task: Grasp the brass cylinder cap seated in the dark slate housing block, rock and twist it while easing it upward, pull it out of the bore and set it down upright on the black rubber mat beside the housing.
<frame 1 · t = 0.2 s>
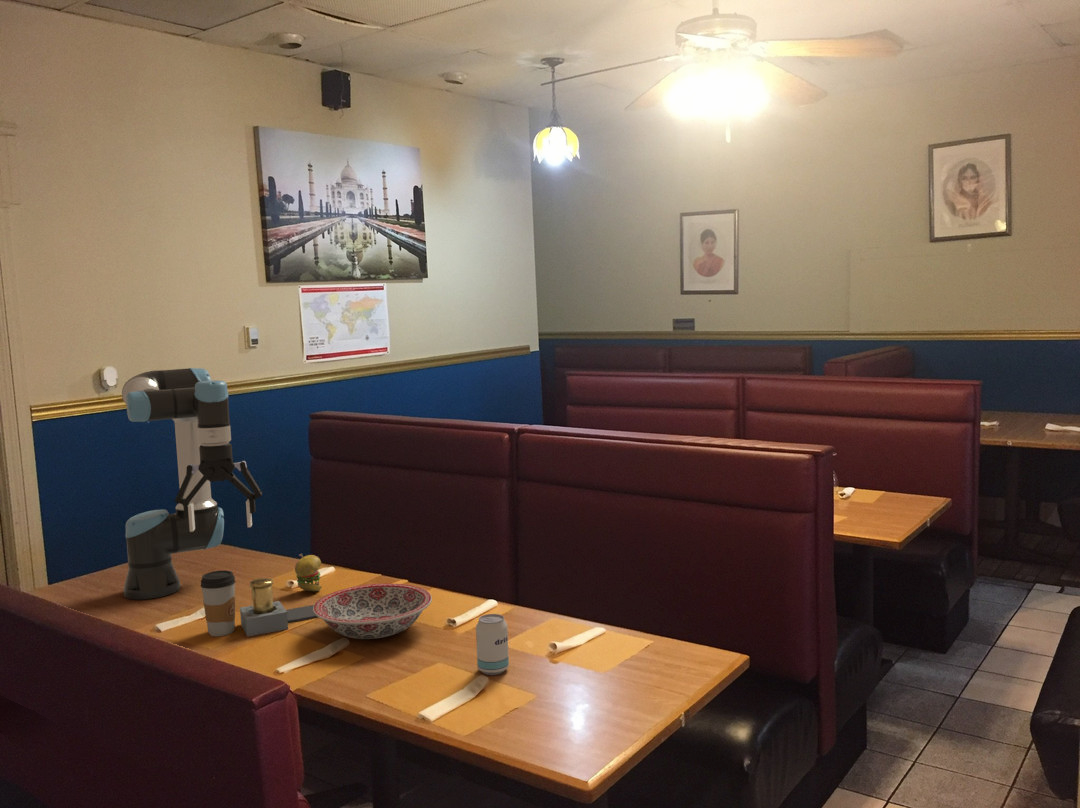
hand: (221, 528, 220), 27 cm above the table, fingers open, 13 cm apart
rubber mat: (302, 614, 237), on the table
coffee cup: (221, 632, 225), on the table
beverage can: (493, 671, 196), on the table
brass cap: (262, 604, 228), in the housing
ceramic bowl: (374, 633, 222), on the table
housing: (264, 626, 228), on the table
hamburger: (309, 593, 255), on the table
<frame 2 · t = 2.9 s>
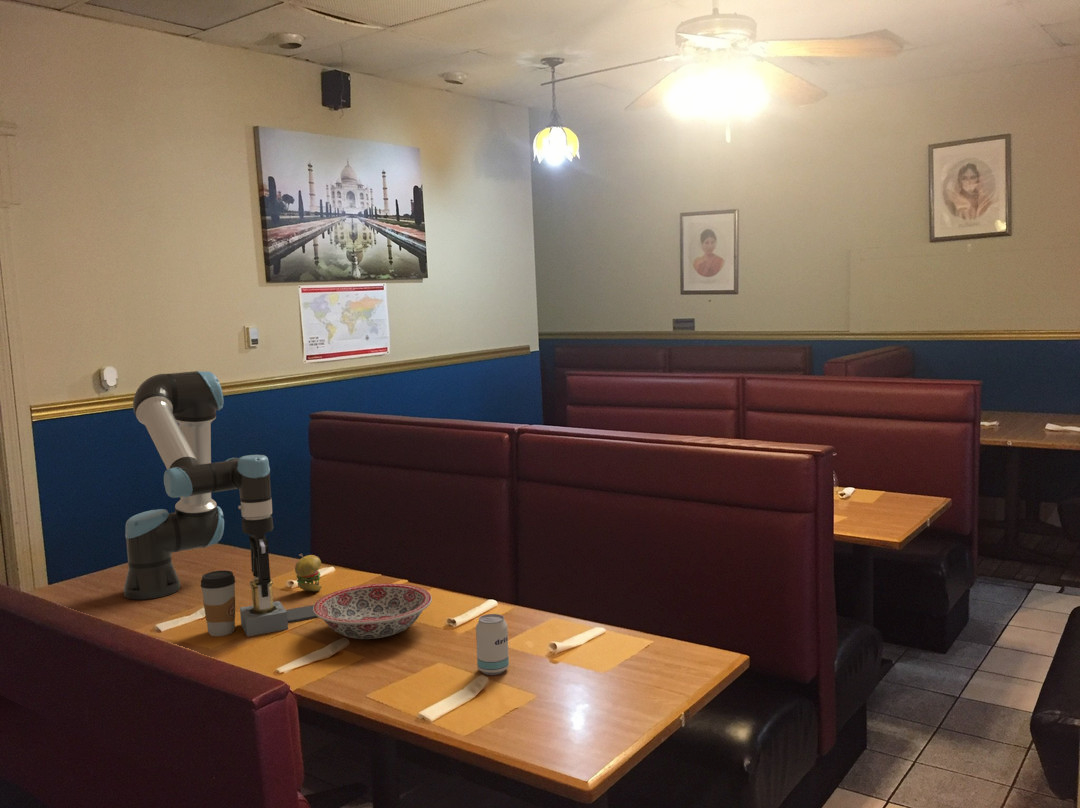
hand: (262, 604, 228), 6 cm above the table, fingers closed on brass cap, 6 cm apart
brass cap: (262, 604, 228), in the housing, touching gripper
everything else where it was.
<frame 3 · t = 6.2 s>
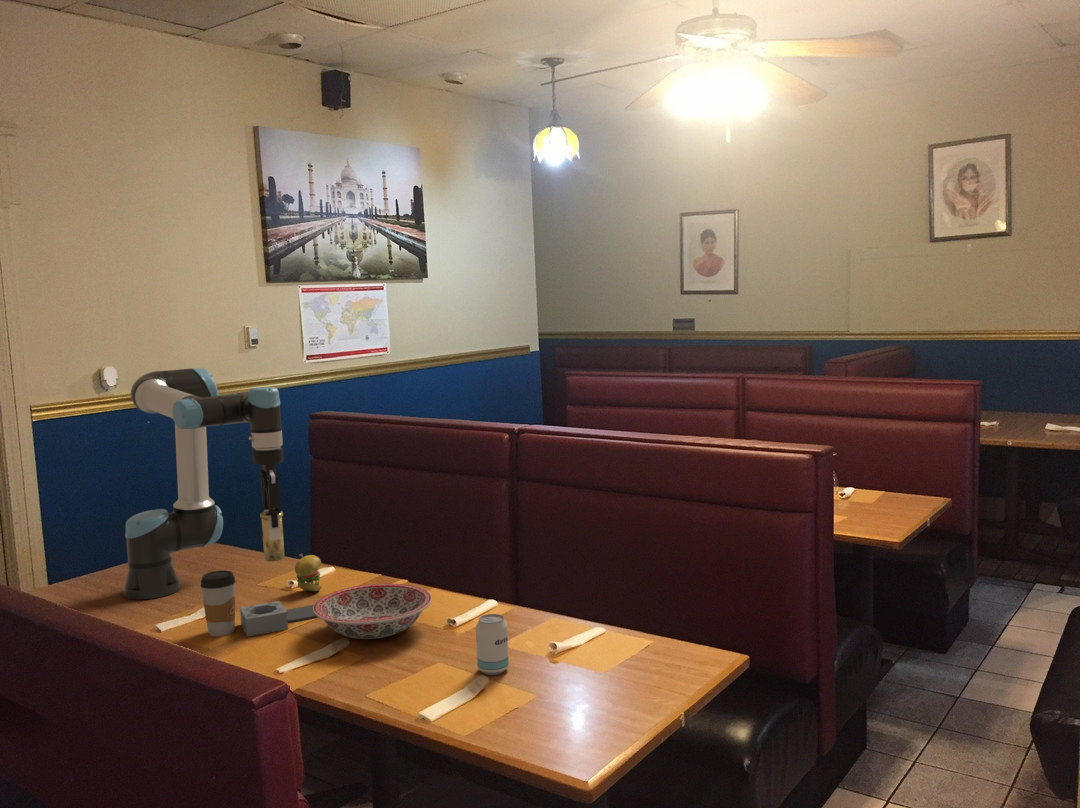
hand: (273, 536, 229), 23 cm above the table, fingers closed on brass cap, 6 cm apart
brass cap: (272, 536, 229), point 23 cm above the table, touching gripper
everything else where it was.
when the fingers open (8 cm above the table, at t = 9.7 s): brass cap drops 1 cm, resting on rubber mat.
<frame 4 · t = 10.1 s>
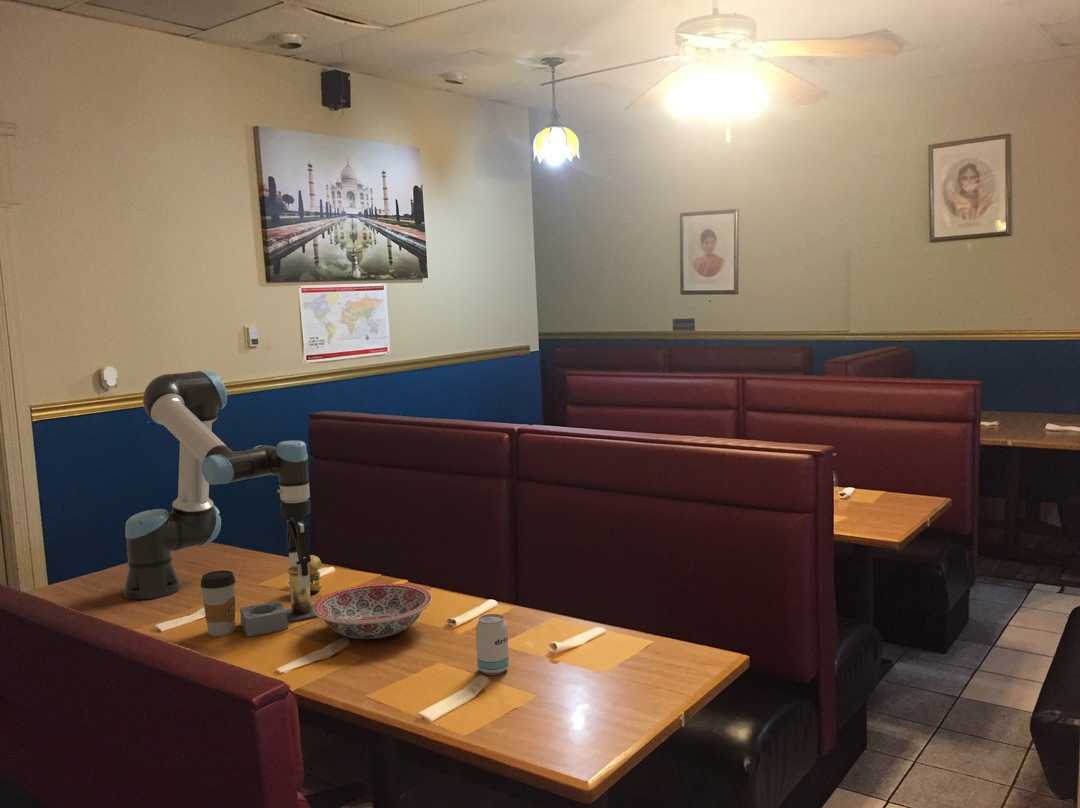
hand: (300, 581, 236), 9 cm above the table, fingers open, 10 cm apart
brass cap: (300, 590, 236), on the rubber mat, point 7 cm above the table
everything else where it was.
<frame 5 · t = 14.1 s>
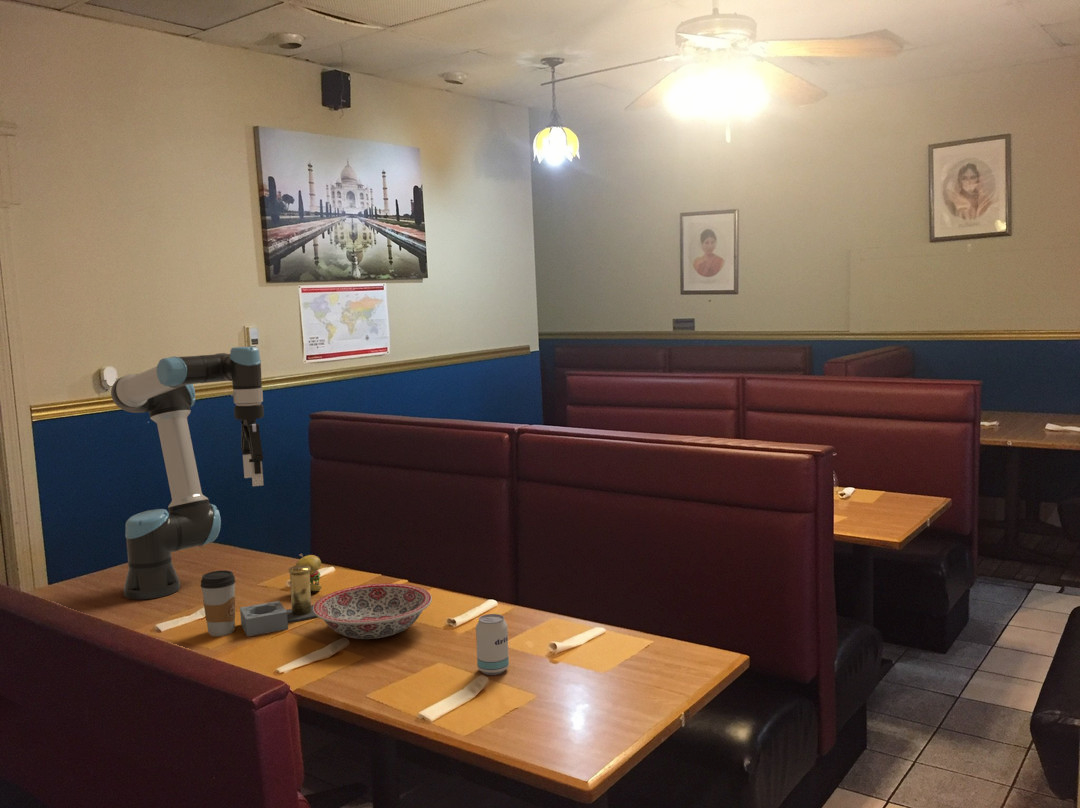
hand: (253, 481, 241), 35 cm above the table, fingers open, 13 cm apart
nothing on the table moved.
at the end: brass cap inside the target area on the rubber mat (0.3 cm from its centre), point 6.6 cm above the rubber mat's base; brass cap tilted 1°; brass cap touching rubber mat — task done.
